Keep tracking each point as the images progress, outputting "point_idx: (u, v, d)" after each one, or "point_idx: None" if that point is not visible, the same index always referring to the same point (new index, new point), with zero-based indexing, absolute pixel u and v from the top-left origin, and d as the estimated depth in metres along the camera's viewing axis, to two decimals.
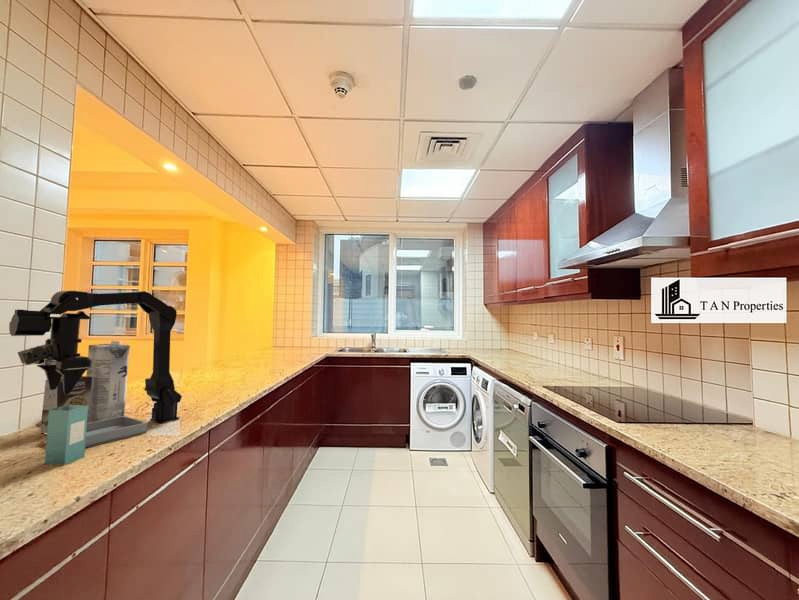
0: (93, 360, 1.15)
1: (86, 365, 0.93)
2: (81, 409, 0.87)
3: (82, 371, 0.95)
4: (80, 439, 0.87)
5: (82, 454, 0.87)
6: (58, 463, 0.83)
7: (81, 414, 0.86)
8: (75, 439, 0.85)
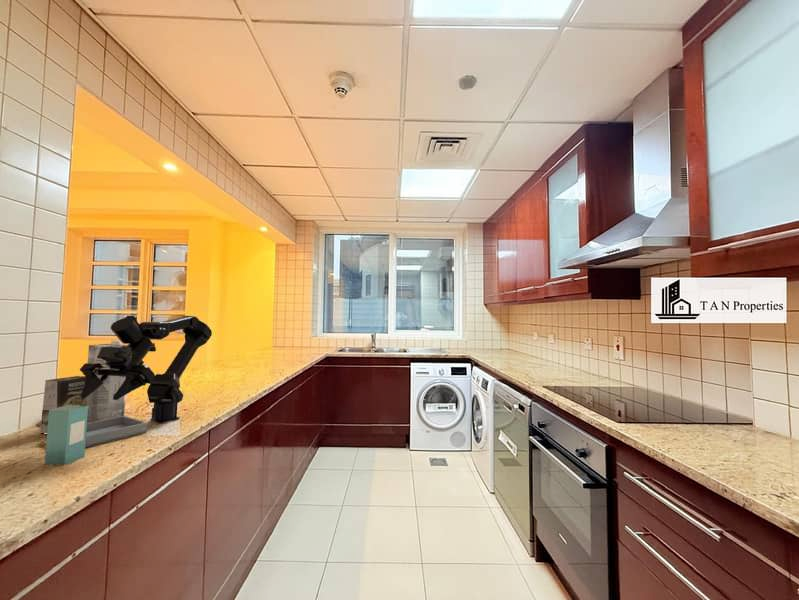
0: (93, 360, 1.15)
1: (151, 379, 1.01)
2: (81, 409, 0.87)
3: (139, 385, 0.99)
4: (80, 439, 0.87)
5: (82, 454, 0.87)
6: (58, 463, 0.83)
7: (81, 414, 0.86)
8: (75, 439, 0.85)
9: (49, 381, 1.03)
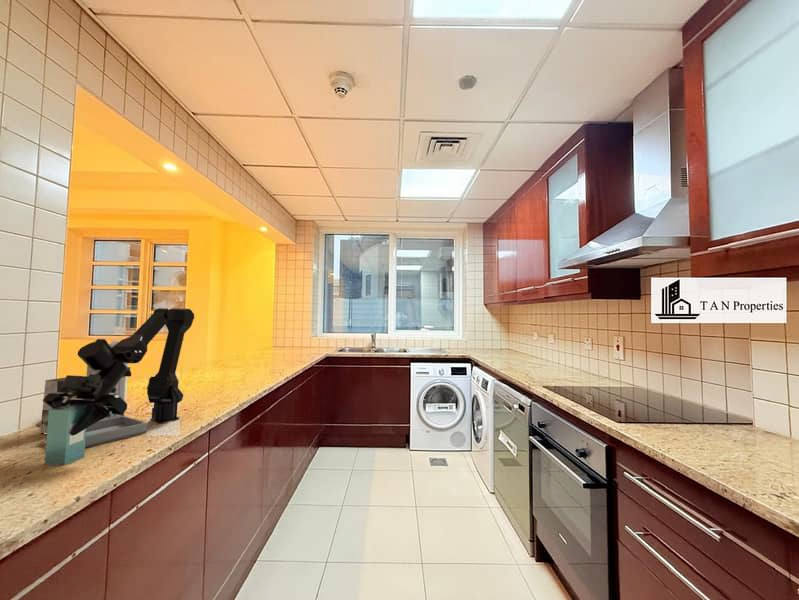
0: None
1: (123, 410, 0.91)
2: (81, 409, 0.87)
3: (102, 417, 0.90)
4: (80, 439, 0.87)
5: (82, 454, 0.87)
6: (58, 463, 0.83)
7: (80, 414, 0.86)
8: (75, 439, 0.85)
9: (49, 381, 1.03)
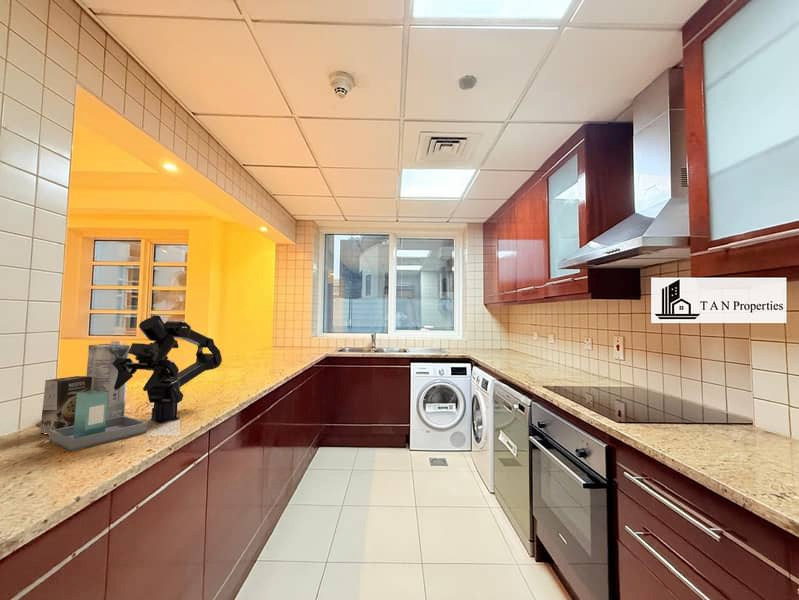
0: (93, 360, 1.15)
1: (176, 373, 1.11)
2: (100, 395, 0.99)
3: (164, 378, 1.10)
4: (100, 421, 0.99)
5: None
6: None
7: (100, 399, 0.99)
8: (94, 421, 0.98)
9: (49, 381, 1.03)
